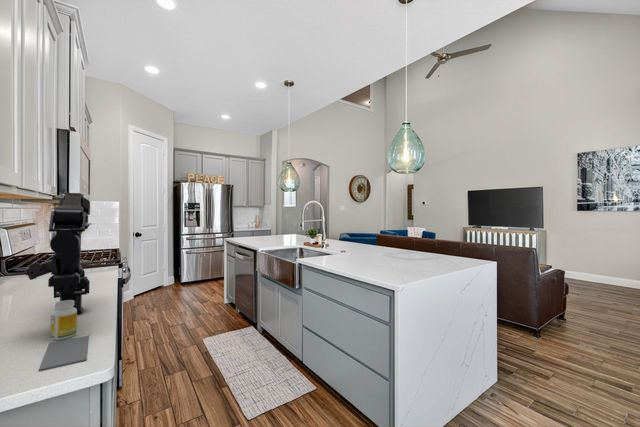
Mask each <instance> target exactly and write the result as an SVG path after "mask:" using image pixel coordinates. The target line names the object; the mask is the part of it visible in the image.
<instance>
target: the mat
mask: <svg viewBox="0 0 640 427" xmlns="http://www.w3.org/2000/svg"><path fill="white" fill-rule="evenodd" d="M89 337H90V336H89V335H84V336H78V337H73V338H72V337H71V338H68V339H63V340H55V341H51V342H48V345H47V347H46V350H45V352H44V355H43V357H42V360H41V363H40V366H39V367H38V372H43V371H46V370H47V371H48V370H51V369H55V368H59V367H60V368H61V367H65V366H68V365H74V364H78V363H83V362H87V360H88V359H87V358H88V357H87V356H88V348H89V339H90V338H89Z"/></svg>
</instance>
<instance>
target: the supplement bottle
mask: <svg viewBox="0 0 640 427" xmlns="http://www.w3.org/2000/svg"><path fill="white" fill-rule="evenodd" d="M74 305H75V304H74V300H64V301H60V300H58V301H57V302H55V303H54V309H55V310H53V311H52V312H51V313H50V336H49V337H50V338H49V339H50V340H51V341H61V340H67V339H72V337H73V338H74V336H76V334H77V322H78V314H77V309H76V308H74V307H73V306H74Z"/></svg>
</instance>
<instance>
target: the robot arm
mask: <svg viewBox="0 0 640 427" xmlns="http://www.w3.org/2000/svg"><path fill="white" fill-rule="evenodd" d="M84 196H85V195H84V194H82V193H79V192H78V193H77V192H76V193H75V192H67V193H64V194H63V197H62V198H60V199H59V200H58V206H55V208H54V210H53V211H51V213H50V219H49V223H48V225H49V226H48V232H50V233H51V232H56V233H55V235H54V237H52V238H51V240H50V243H49V245H50V247H49V248H50V249H51V251H53V253H54V255H52V256H51V259H50V260H47V261H44V262H41V263H40V262H38V261H36V262H35V263H31V264H29V267H26V268H25V269H24V270H25V276H27V278H28V279H29V280H30V281H32V280H36V279H37V278H39V277H41V276H44V275H47V274H51V276H50V277H49V278H48V282H47V284H48V286H47V287H49V288H52V287H53V299H57V298H59V301H64V300H74V304H75V305H74V306H73V307H74V308H76V309H77V315H81V314H83V311H84V307H83V306H82V305H83V304H82V302H83V300H82V298H83V296H86V295H87V294H90V280H89V278H88V276H86V273H85V270H84V269H83V267H82V266H81V257H82V252H81V251H82V248H81V247H82V232H85V231H86V230H87V229H88V227H89V216H90V215H91V201H90V200H89V199H87V198H85V197H84Z"/></svg>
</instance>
